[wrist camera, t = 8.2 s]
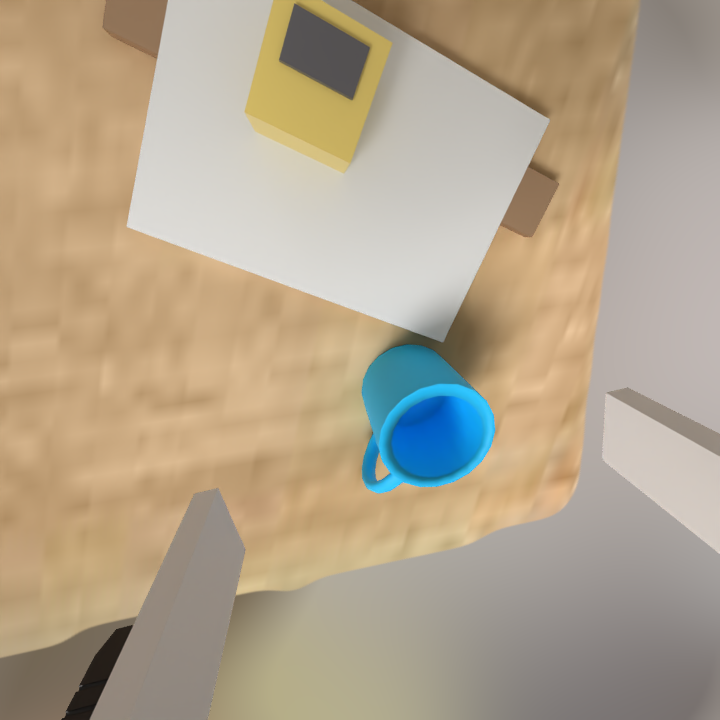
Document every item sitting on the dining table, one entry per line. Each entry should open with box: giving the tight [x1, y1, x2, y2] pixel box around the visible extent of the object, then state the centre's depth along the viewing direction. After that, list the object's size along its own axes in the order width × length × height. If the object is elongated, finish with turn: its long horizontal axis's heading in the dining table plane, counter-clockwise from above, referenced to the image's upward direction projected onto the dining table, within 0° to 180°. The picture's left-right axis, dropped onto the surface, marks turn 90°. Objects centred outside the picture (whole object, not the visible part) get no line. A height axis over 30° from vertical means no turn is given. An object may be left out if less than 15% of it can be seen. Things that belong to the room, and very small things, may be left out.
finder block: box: [244, 0, 393, 173], centre depth 20 cm, size 6×6×4 cm
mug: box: [362, 344, 495, 493], centre depth 28 cm, size 12×8×8 cm
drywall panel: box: [103, 0, 559, 343], centre depth 24 cm, size 30×17×1 cm, turn 68°
